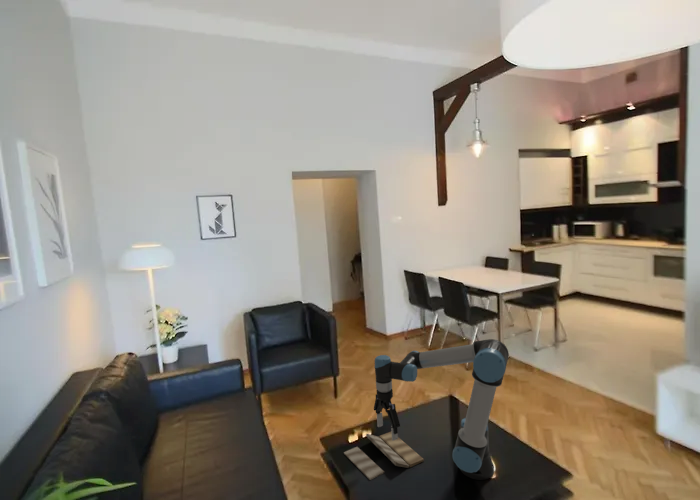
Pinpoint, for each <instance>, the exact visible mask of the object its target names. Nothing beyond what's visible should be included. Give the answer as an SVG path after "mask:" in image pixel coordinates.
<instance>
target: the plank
mask: <svg viewBox="0 0 700 500" xmlns="http://www.w3.org/2000/svg"><path fill="white" fill-rule="evenodd" d="M343 455H345V457H346V458H348V459H349V460H350V462H352V464H354V466H356V468H358V470H359V471H360V472H361V473H363V475H364V476H365V477H366V478H367V479H368V480H369V481H372V480H373V479H375V478H377V477H380V476H382V475H383V474H385V470H383V469H382V468H381V467H380V466H379V465H378V464H377V463H376V462H374V460H372V459H371V458H370V456H368V455H367V454H366V453H365V452H364V451H363V450H362V449H360V447H358V446H356V447H352V448H350V449H347V450H346V451H344V452H343Z"/></svg>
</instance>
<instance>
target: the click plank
mask: <svg viewBox="0 0 700 500" xmlns="http://www.w3.org/2000/svg"><path fill="white" fill-rule="evenodd" d="M365 437H367V439H368V440H370V441H371V443H372V444H373V445H374V446H375V447H376V448H377V449H378V450H379V451H380V452H381V453H382V454H384V456H386V457H387V459H388V460H389V461H391V463H392V464H393V465H394V466H396V467H400V468H401V467H402V468H407V469H409V468H410V467H409V465H408V464H407V463H406V462H405V461H404V460H403V459H402V458H401V457H400V456H399V455H397V454H396V453H395V452H394V451H393V450H392V449H391V448H390V447H389V446H388V445H387V444H386V443H385V442H384V441H383V440H382V439H381V438H379V436H378V435H373V434H371V433H366V435H365Z"/></svg>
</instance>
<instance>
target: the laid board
mask: <svg viewBox="0 0 700 500" xmlns="http://www.w3.org/2000/svg"><path fill="white" fill-rule="evenodd" d="M378 437H379V438H381V439H382V440H383V441H384V442H385V443H386V444H387V445H388V446H389V447H390V448H391V449H392V450H393V451H394V452H395V453H396V454H397V455H399V456H400V457H401V458H402V459H403V460H404V461H405V462H406V463H407V464H408V465H409V468H412V467H414V466H416V465H419V464H422V463H423V462H424V460H425V459H424V458H423V457H422V456H421V455H420V454H418V453H417V452H416V450H414V449H413V448H411V446H409V445H408V444H407V443H406V442H404V441H403V440H402V439H401V438H400V437H399V436H398V439H396V440H394V441H393V440H392V432H391V431H389V432H386V433H383V434H381V435H379V436H378Z"/></svg>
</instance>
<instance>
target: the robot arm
mask: <svg viewBox="0 0 700 500" xmlns="http://www.w3.org/2000/svg"><path fill="white" fill-rule="evenodd" d="M509 353H510V352H509V349H508V347H507V346H506V345H505V344H504V343H503V342H502V341H500V340H497V339H492V338H489V339H482V340H475V341H473V342H472V344H465V345H459V346H453V347H445V348H439V349H434V350H425V351H419V350H411V351H410V352H409V353H407V355H406V356H405V357H404V358H403V359H402V360H401V361H400V362H395V361H392V359H391V357H390V356H389V355H387V354H380V355H377V356H375V358H374V372H375V373H374V374H375V388H376V391H375V392H376V394H375V400H374V406H373V410H374V411H375V413H376V421H377V422H376V425H377V427H378V428H381V427H383V426H384V420H383V418H384V416H383V409H384V410H385V412H386V414H387V416H388V418H389V422H390V424H391V426H390V427H391V428H390V429H391V431H390V432H392V440H393V441H394V440H396V439H398V437H399V435H398V433H399V432H398V428H399V427H401V423H400V420H399V416H398V413H397V409H396V404H395V403H392V398H393V397H394V394H393V392H394V391H393V380H397V381H401V382H402V381H404V382H413V383H414V382H415V381H417V377H418V370H422V369H426V368H427V369H428V368H435V367H437V368H438V367H444V366H445V367H446V366H451V365H460V364H468V363H469V364H470V363H473V364H472V367H473V368H472V372H471V376H472V378H473V379H474V380H473V381H474V382H473V385H472V390H471V394H470V399H469V402H468V408H467V410H466V415H465V417H464V418H462V419H461V422H460V429H459V430H458V433H457V438H456V441H455V444H454V448H453V449H452V460H453V462H454V463H455V465H456V467H457V468H459V470H460V472H461V473H462V474H463V475H464V476H465V477H467V478H470V479H473V480H477V481H484V480H488V479H491V478H492V477H493V476H494V474H495V465H494V463H493V460H492V457H491V454H490V447H489V446H490V445H489V444H490V442H489V424H488V423H489V420H490V414H491V411H492V407H493V402H494V398H495V394H496V391H497V388H498V387H500V386H502V384H503V380H504V377H505V373H506V370H507V365H508V361H509V358H510V357H509V355H510V354H509Z"/></svg>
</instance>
